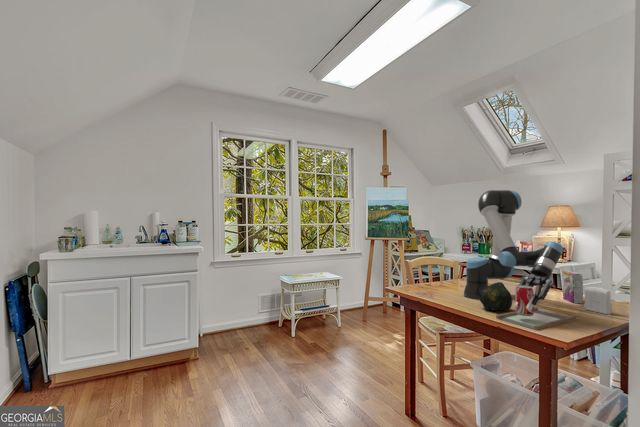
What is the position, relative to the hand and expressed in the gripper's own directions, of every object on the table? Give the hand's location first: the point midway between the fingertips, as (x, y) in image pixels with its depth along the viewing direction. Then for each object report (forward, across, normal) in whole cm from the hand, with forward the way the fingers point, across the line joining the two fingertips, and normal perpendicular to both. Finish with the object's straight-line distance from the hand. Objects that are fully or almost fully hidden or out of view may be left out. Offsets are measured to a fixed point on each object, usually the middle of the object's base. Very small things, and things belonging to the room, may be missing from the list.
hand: (522, 308), depth 143 cm
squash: (-2, +19, -11) cm, 22 cm away
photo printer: (-31, -7, -40) cm, 51 cm away
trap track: (-3, 0, -12) cm, 12 cm away
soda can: (0, +1, -5) cm, 6 cm away
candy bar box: (-40, +10, -49) cm, 64 cm away
